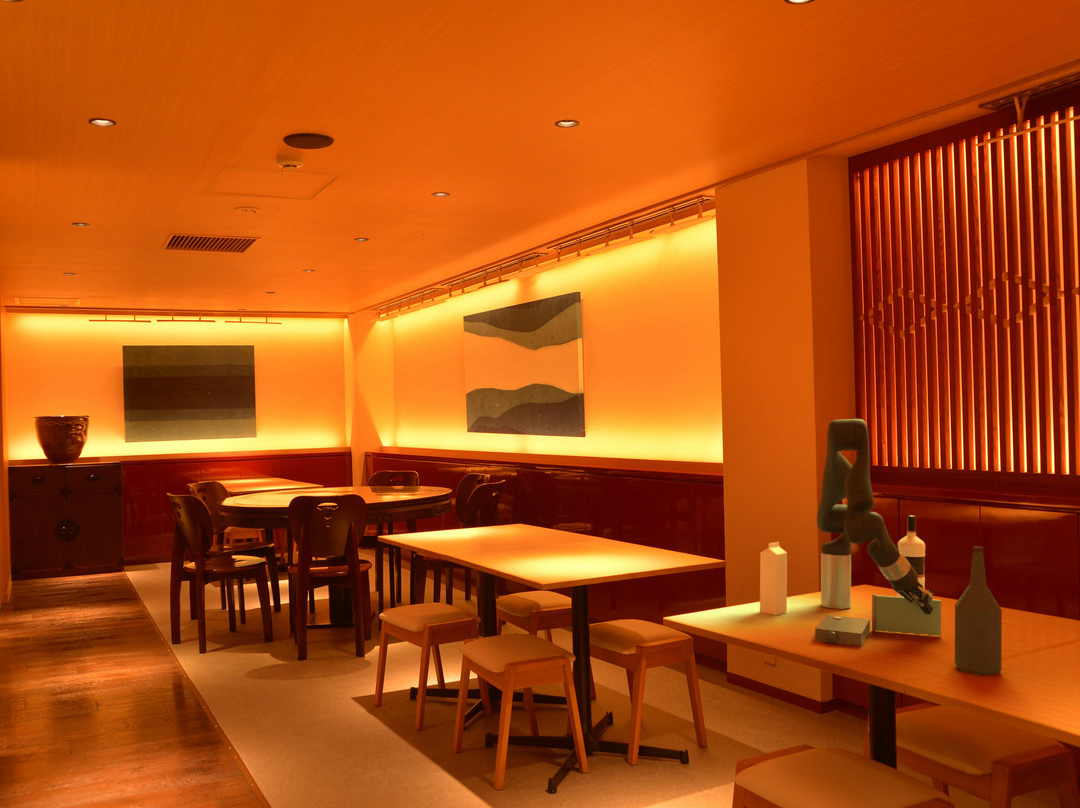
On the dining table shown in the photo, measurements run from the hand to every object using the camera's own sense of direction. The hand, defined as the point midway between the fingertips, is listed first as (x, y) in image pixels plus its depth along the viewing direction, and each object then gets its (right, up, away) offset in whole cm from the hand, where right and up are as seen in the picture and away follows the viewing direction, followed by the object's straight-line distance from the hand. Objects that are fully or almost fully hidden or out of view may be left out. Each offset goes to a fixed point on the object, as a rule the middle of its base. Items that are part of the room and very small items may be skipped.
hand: (929, 611), depth 251 cm
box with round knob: (-24, -7, 0) cm, 25 cm away
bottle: (-3, -7, -33) cm, 34 cm away
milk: (-36, -7, +30) cm, 47 cm away
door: (-5, -7, +3) cm, 9 cm away
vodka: (+12, -8, +41) cm, 43 cm away
